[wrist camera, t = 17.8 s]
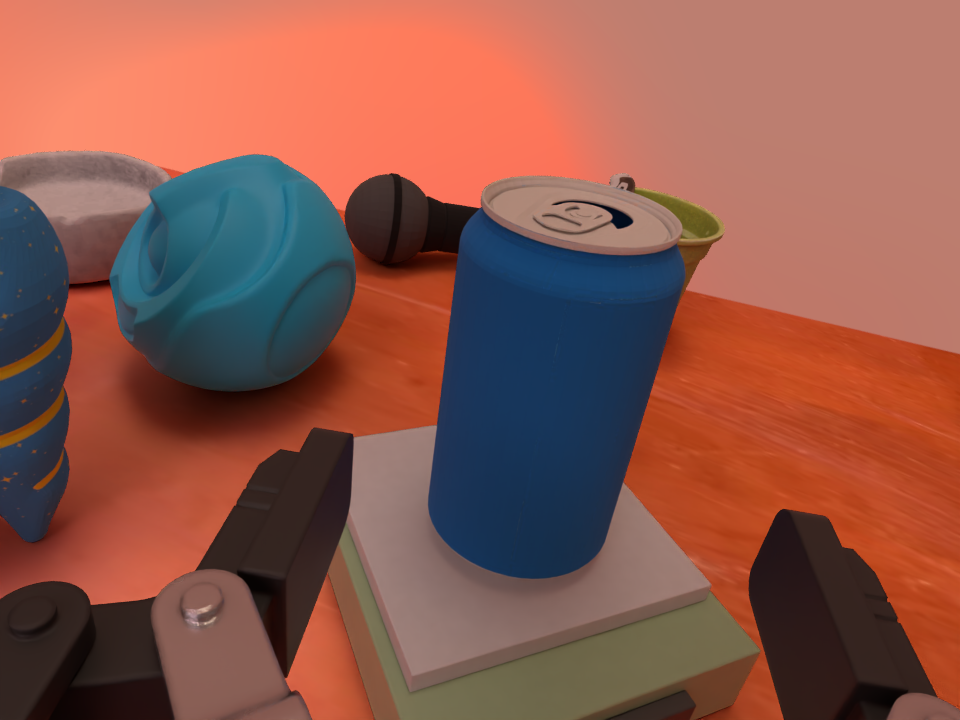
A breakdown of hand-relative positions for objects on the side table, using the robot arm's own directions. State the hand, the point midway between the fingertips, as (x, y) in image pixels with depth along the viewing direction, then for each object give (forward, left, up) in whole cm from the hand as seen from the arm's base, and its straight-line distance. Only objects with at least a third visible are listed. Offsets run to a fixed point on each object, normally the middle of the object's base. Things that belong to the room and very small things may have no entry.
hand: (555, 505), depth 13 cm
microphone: (+26, +36, -11) cm, 46 cm away
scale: (+5, +8, -13) cm, 16 cm away
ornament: (-11, +16, -13) cm, 24 cm away
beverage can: (+5, +8, -9) cm, 13 cm away
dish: (-10, +44, -13) cm, 47 cm away
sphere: (-2, +26, -13) cm, 29 cm away
